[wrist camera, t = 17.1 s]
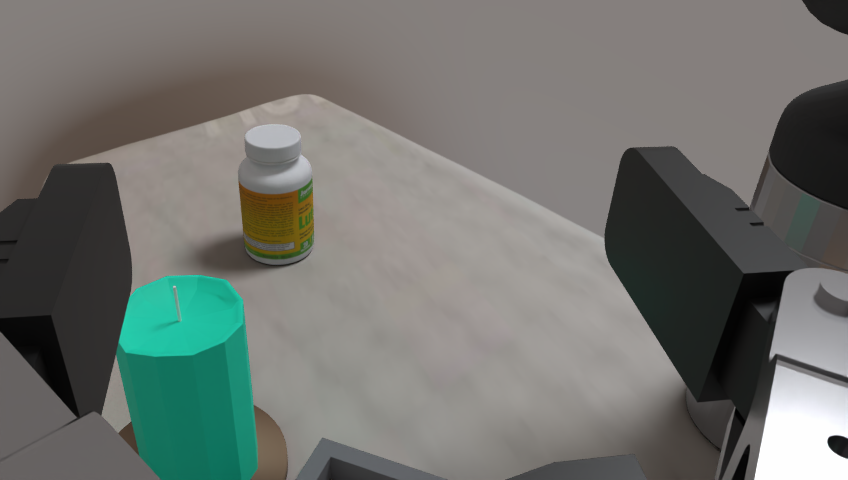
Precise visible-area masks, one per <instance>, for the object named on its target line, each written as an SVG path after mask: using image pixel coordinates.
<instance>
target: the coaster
mask: <svg viewBox="0 0 848 480" xmlns="http://www.w3.org/2000/svg"><path fill="white" fill-rule="evenodd" d="M254 415H255V425H256V435H257V445H258V469H257V470H256V472H255V473H254V475H253V476H252V478H251V479H250V480H286V477H287V470H288V459H287V448H286V442H285V439H284V436H283V434H282V432H281V430H280V428H279V426H278V425H277V424H276V422H275V421H274V420H273V419H272V418H271V417H270V416H269V415H268V414H267V413H265V412H264V411H263V410H261V409H260V408H258V407H256V406H254ZM118 434H119V435H120V436H121V437H122V438H123V439H124V440H125V441H126V442H127V444H128V445H129V446H130V447H131V448H132V449H133V450H134V451H135V452H136V453H137V454H138V455H139V452H138V447H137V443H136V439H135V434H134V430H133V425H132V422H130V423H129V424H128V425H127V426H125V427H124V428H123V429H122V430H121V431H120V432H119V433H118Z"/></svg>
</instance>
